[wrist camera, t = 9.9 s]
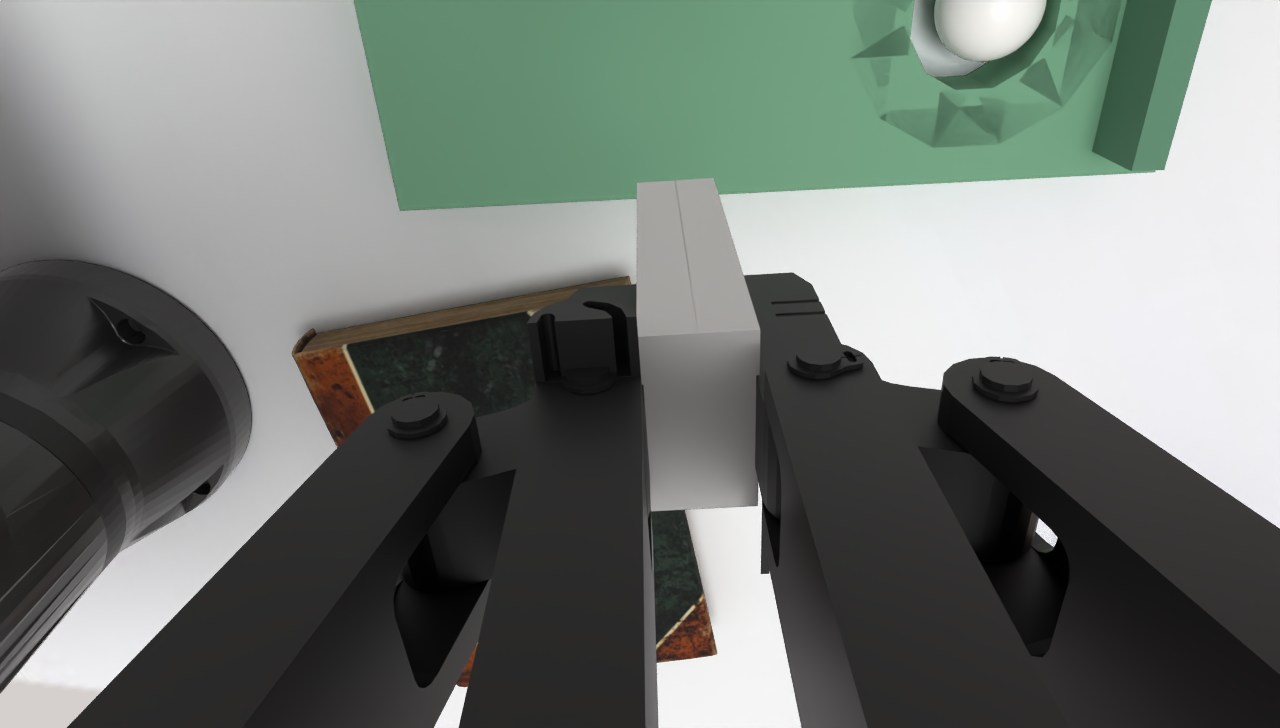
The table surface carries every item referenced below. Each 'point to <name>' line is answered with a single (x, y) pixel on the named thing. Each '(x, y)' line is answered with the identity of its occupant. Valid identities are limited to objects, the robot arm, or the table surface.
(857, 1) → the green
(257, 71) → the table surface
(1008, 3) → the ball
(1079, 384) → the table surface
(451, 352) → the book
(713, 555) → the table surface
